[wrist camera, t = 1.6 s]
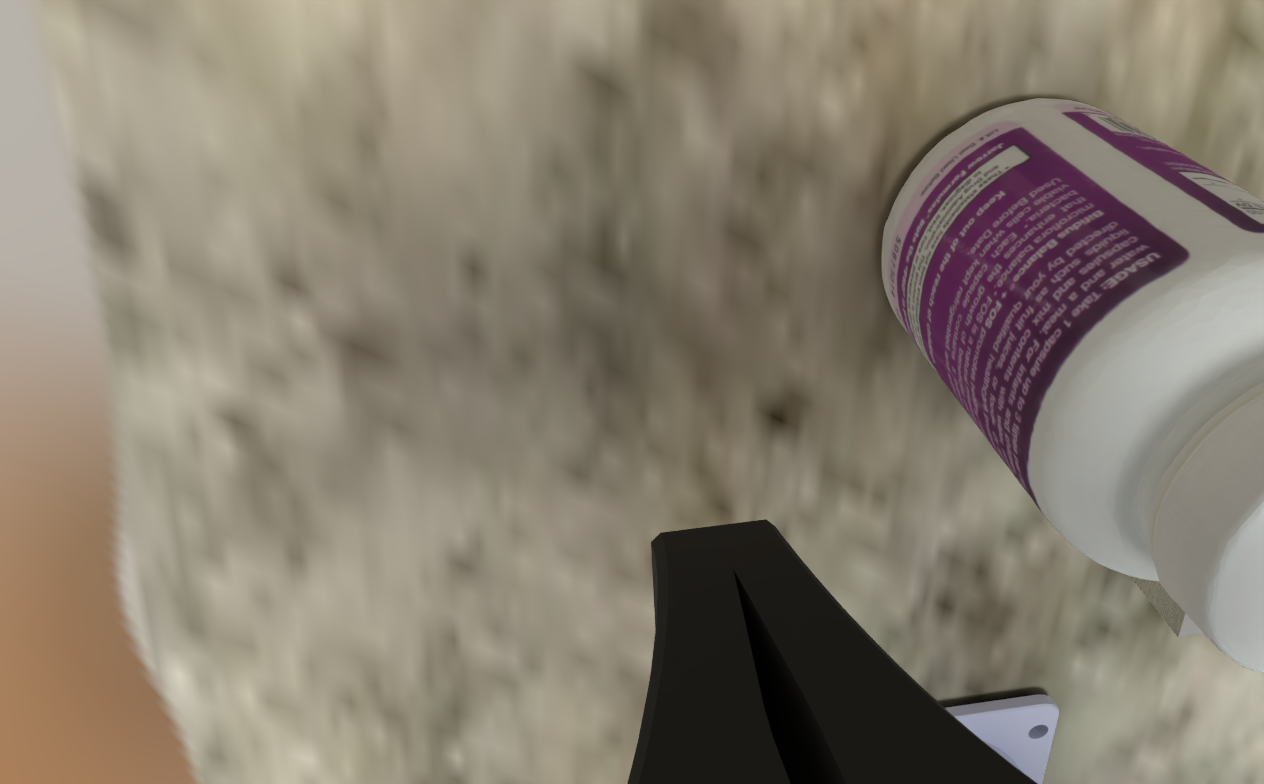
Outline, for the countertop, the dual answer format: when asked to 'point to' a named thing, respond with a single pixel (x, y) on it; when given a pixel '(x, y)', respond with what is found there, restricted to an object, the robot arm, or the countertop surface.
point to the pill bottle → (1102, 341)
